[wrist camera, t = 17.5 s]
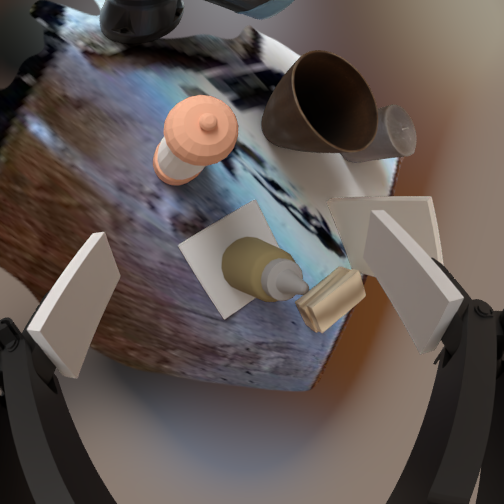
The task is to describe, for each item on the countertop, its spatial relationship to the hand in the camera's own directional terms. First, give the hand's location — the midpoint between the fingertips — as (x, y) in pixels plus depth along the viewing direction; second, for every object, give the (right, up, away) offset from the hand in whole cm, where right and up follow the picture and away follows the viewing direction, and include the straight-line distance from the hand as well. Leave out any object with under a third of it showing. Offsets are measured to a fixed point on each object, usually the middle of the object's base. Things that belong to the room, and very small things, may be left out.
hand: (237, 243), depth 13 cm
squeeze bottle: (-1, -2, +30) cm, 30 cm away
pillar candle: (+21, +23, +38) cm, 49 cm away
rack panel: (+19, +3, +39) cm, 44 cm away
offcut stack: (+15, -9, +39) cm, 43 cm away
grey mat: (-2, -2, +31) cm, 31 cm away
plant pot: (+6, +21, +31) cm, 38 cm away
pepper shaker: (-11, +13, +25) cm, 30 cm away
